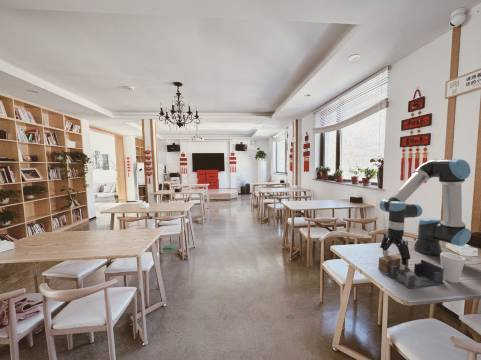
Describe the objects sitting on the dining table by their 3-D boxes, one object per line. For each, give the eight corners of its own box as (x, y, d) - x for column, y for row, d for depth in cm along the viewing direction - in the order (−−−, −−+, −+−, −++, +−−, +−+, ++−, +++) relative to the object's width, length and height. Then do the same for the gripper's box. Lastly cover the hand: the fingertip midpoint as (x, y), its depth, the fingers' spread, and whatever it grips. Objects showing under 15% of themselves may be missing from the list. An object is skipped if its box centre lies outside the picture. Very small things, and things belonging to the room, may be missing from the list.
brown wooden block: (399, 264, 136) (400, 253, 136) (408, 267, 132) (408, 256, 131) (378, 269, 130) (379, 257, 130) (386, 273, 125) (387, 261, 125)
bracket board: (419, 271, 127) (420, 258, 126) (444, 283, 114) (446, 269, 114) (387, 275, 122) (387, 262, 122) (409, 288, 110) (410, 273, 109)
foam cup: (465, 286, 112) (467, 261, 111) (441, 281, 117) (443, 257, 116) (459, 278, 120) (461, 255, 119) (437, 273, 125) (438, 251, 124)
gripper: (374, 223, 139) (372, 257, 141) (409, 235, 117) (406, 275, 119) (384, 222, 141) (382, 256, 143) (420, 234, 119) (417, 274, 120)
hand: (393, 265), depth 131 cm, fingers open, 10 cm apart
